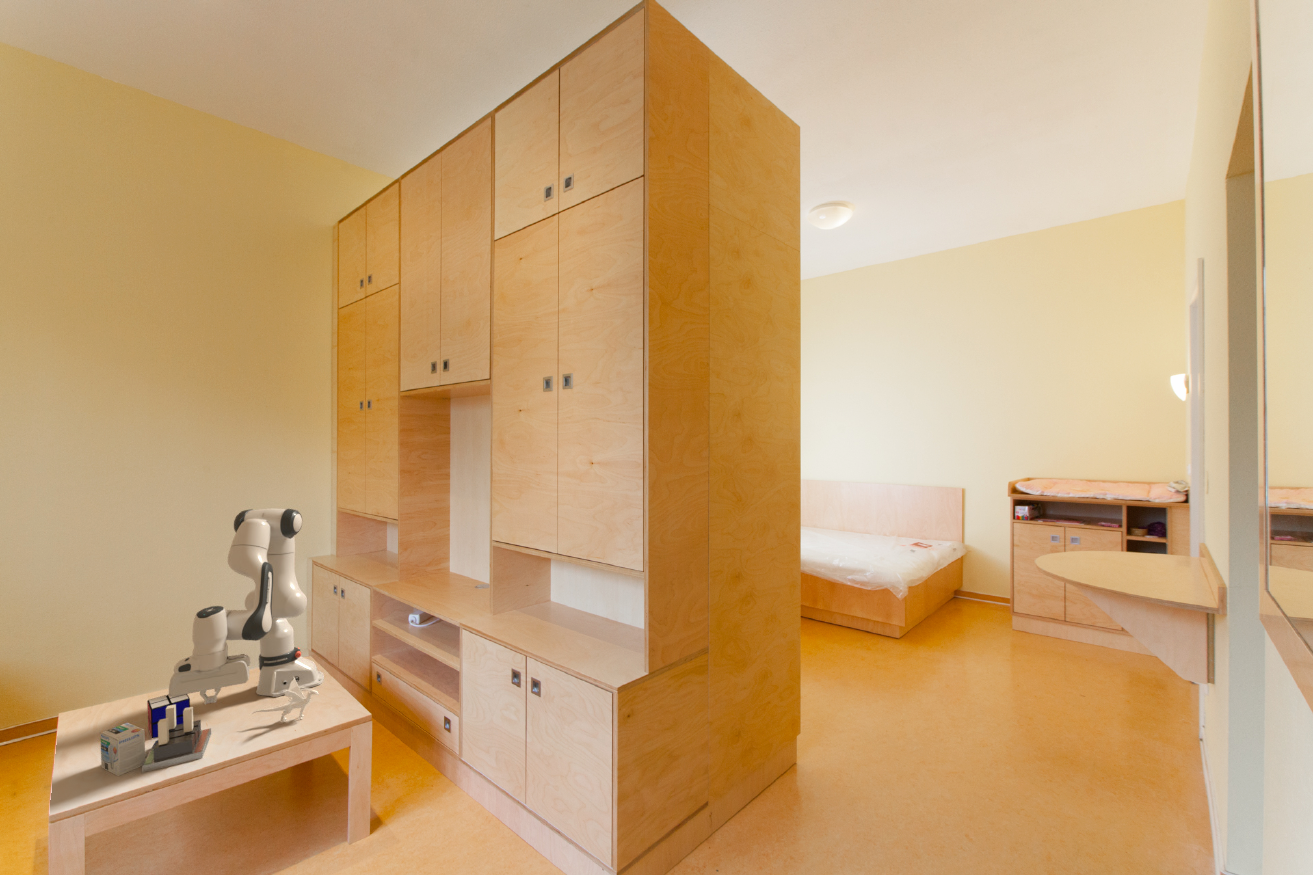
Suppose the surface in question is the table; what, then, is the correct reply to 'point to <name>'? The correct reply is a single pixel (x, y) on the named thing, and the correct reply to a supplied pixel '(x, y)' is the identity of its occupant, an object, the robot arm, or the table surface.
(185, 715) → the handle
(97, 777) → the table surface
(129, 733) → the light bulb box
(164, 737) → the handle
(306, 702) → the dragon
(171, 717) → the handle
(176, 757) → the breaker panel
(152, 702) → the puzzle cube
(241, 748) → the table surface
